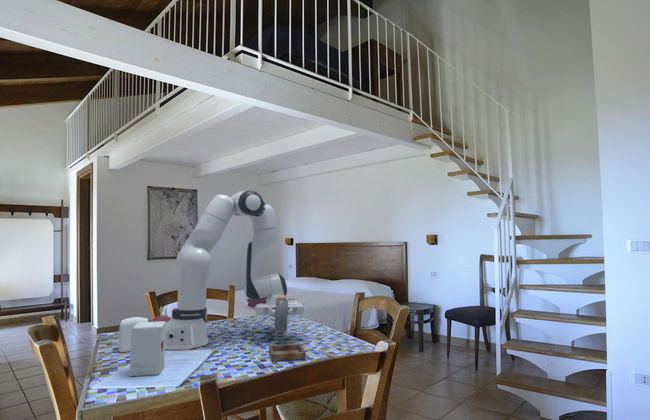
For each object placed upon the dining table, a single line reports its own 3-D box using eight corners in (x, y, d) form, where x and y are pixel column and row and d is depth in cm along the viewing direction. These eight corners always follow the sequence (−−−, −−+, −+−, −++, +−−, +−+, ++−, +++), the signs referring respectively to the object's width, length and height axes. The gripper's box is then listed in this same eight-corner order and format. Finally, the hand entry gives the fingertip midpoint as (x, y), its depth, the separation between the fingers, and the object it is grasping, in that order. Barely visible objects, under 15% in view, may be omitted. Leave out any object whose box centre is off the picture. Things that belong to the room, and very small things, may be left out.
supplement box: (159, 375, 125) (161, 326, 126) (128, 377, 123) (130, 327, 124) (165, 366, 134) (166, 320, 135) (136, 367, 132) (138, 321, 133)
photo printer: (117, 353, 148) (119, 319, 149) (119, 350, 152) (120, 317, 153) (148, 350, 152) (149, 317, 153) (148, 347, 156) (149, 315, 157)
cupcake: (167, 333, 179) (168, 306, 180) (148, 333, 179) (149, 306, 180) (174, 329, 187) (175, 303, 188) (156, 328, 187) (157, 302, 188)
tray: (271, 361, 140) (272, 354, 140) (268, 352, 151) (269, 345, 151) (305, 359, 142) (305, 352, 142) (300, 350, 154) (300, 343, 154)
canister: (275, 331, 159) (276, 296, 160) (273, 328, 163) (275, 295, 164) (287, 331, 160) (289, 296, 161) (286, 328, 165) (287, 295, 166)
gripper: (254, 299, 173) (255, 304, 159) (300, 299, 177) (306, 304, 164) (253, 314, 172) (255, 320, 159) (300, 314, 177) (305, 320, 163)
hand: (281, 312), depth 161 cm, fingers closed on canister, 5 cm apart
